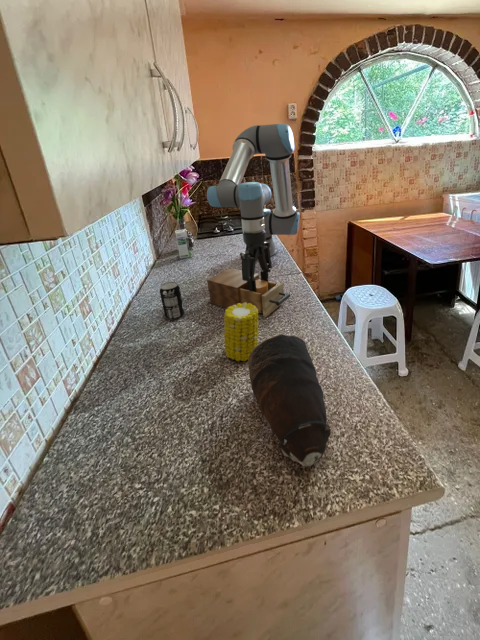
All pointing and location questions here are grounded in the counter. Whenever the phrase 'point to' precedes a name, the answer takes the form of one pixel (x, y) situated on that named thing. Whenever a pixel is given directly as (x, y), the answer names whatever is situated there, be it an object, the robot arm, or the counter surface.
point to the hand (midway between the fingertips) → (259, 292)
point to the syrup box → (183, 243)
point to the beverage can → (171, 300)
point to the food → (241, 331)
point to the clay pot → (290, 396)
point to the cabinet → (226, 287)
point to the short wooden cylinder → (261, 286)
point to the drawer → (264, 297)
